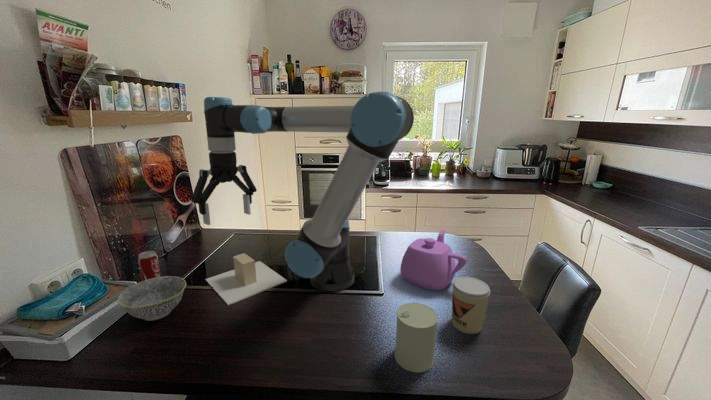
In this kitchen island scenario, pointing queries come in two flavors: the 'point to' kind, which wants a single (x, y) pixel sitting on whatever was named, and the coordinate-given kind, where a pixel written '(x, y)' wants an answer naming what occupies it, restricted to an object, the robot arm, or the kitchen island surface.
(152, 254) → the soda can
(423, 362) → the can
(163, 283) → the bowl
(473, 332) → the cream canister
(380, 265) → the kitchen island surface
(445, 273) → the teapot
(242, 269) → the lid
